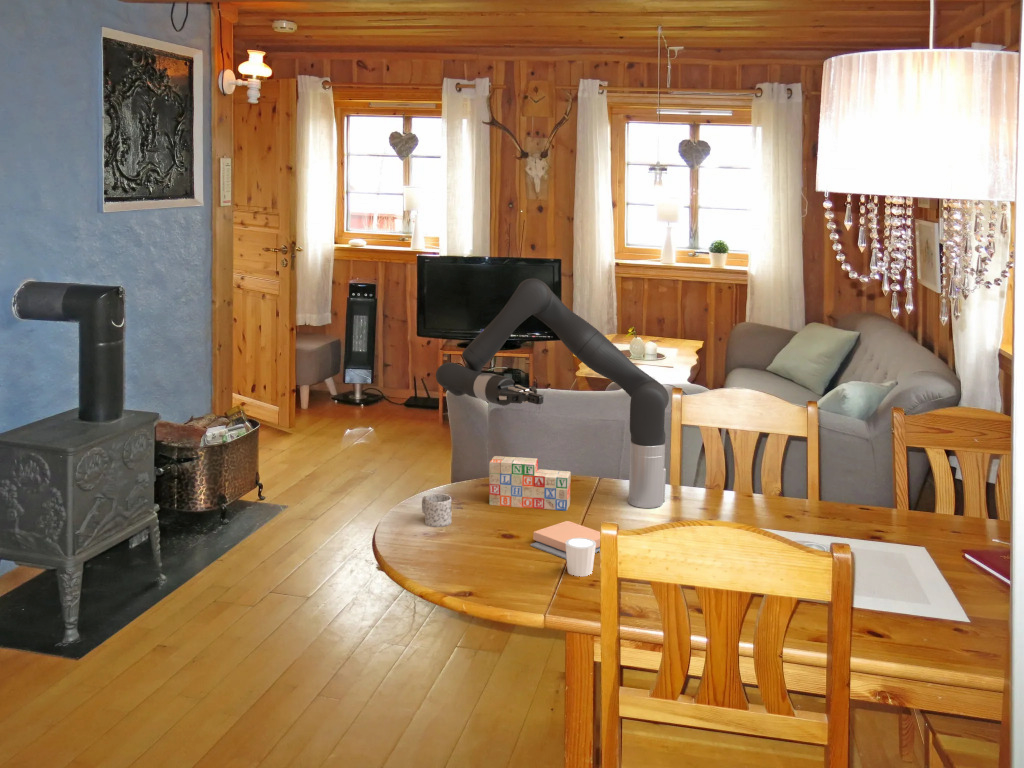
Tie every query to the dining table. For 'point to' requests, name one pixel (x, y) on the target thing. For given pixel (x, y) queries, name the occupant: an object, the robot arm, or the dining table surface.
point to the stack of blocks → (527, 484)
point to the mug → (437, 510)
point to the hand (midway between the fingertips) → (541, 400)
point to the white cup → (580, 556)
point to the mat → (553, 549)
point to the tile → (565, 534)
